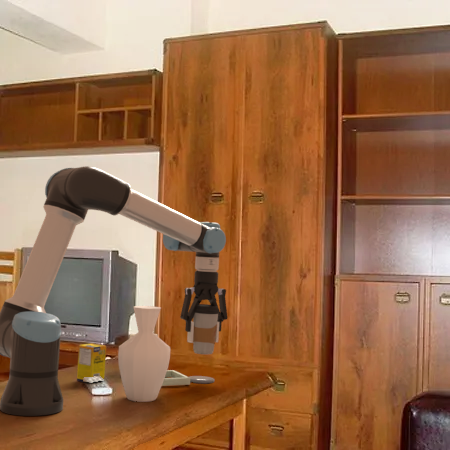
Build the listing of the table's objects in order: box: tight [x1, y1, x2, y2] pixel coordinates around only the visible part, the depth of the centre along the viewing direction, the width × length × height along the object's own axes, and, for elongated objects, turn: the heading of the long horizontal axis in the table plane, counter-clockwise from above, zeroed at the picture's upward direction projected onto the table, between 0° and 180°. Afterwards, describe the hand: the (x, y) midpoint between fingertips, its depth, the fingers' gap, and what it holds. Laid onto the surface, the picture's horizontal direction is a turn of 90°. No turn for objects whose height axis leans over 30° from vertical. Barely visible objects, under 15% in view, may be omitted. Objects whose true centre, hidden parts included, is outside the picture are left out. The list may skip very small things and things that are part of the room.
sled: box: [129, 333, 191, 387], centre depth 220 cm, size 13×25×12 cm, turn 28°
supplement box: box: [76, 343, 107, 383], centre depth 210 cm, size 6×6×11 cm
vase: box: [117, 305, 171, 403], centre depth 191 cm, size 14×14×25 cm
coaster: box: [188, 375, 215, 385], centre depth 220 cm, size 9×9×1 cm
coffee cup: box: [192, 303, 220, 355], centre depth 220 cm, size 8×8×15 cm
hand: (202, 341), depth 221 cm, fingers closed on coffee cup, 8 cm apart
